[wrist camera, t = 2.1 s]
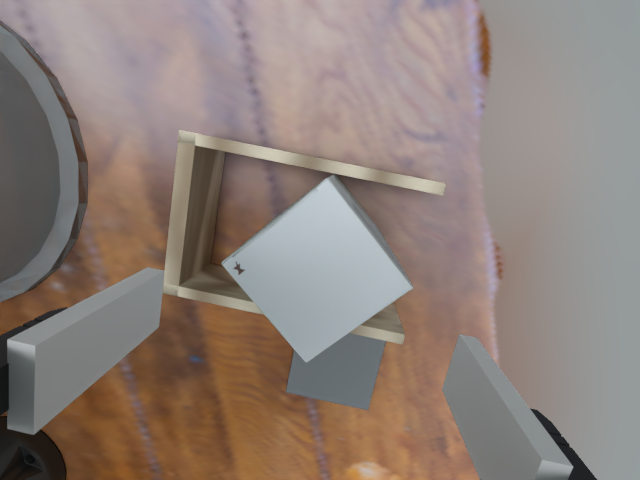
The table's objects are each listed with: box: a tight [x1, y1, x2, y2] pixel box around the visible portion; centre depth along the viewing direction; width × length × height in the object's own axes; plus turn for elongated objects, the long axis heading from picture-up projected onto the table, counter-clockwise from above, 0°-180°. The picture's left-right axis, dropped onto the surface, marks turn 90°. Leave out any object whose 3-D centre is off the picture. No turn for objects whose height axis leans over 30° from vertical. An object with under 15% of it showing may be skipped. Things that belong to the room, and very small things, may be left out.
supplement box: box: [222, 174, 413, 362], centre depth 31 cm, size 10×9×17 cm
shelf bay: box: [162, 130, 446, 344], centre depth 35 cm, size 23×15×8 cm, turn 79°
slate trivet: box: [286, 333, 386, 410], centre depth 42 cm, size 10×10×1 cm
